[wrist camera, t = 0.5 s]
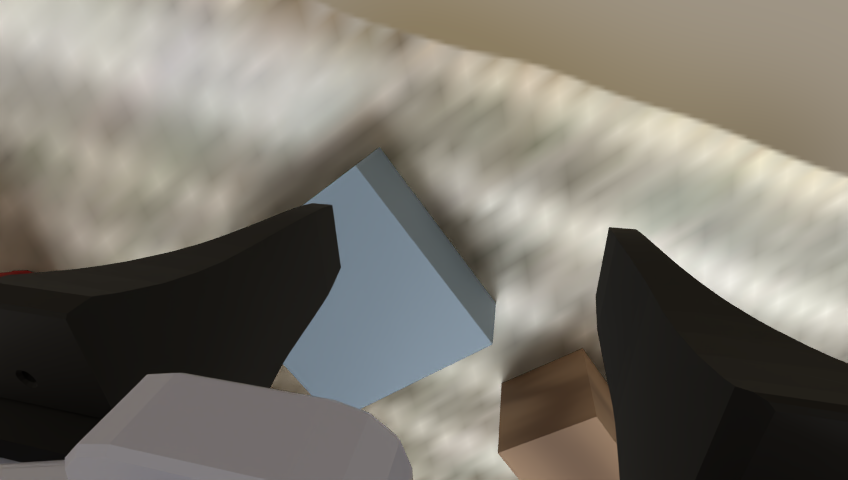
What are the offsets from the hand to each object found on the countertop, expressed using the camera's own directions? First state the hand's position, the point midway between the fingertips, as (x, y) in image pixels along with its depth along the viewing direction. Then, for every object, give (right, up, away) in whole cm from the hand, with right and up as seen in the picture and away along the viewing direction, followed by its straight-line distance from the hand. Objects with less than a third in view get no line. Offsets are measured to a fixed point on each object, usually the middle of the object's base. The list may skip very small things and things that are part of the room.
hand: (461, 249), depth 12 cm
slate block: (-4, -2, +13) cm, 14 cm away
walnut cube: (+7, -9, +14) cm, 18 cm away
